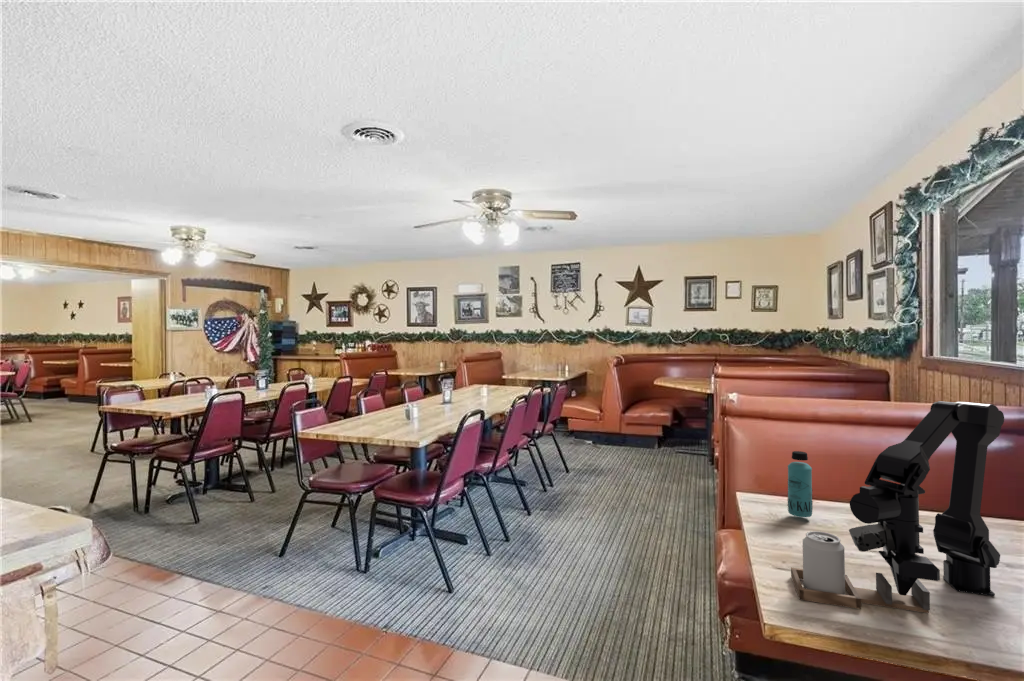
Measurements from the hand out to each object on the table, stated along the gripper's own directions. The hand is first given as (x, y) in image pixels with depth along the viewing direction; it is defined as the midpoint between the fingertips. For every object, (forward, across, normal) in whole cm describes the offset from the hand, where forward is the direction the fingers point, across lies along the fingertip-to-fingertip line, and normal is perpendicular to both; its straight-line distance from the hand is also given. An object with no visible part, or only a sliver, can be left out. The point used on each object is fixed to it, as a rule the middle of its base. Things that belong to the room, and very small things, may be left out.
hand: (901, 594), depth 98 cm
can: (+2, 0, -14) cm, 14 cm away
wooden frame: (+2, 0, -8) cm, 8 cm away
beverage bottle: (+2, -47, -10) cm, 48 cm away
